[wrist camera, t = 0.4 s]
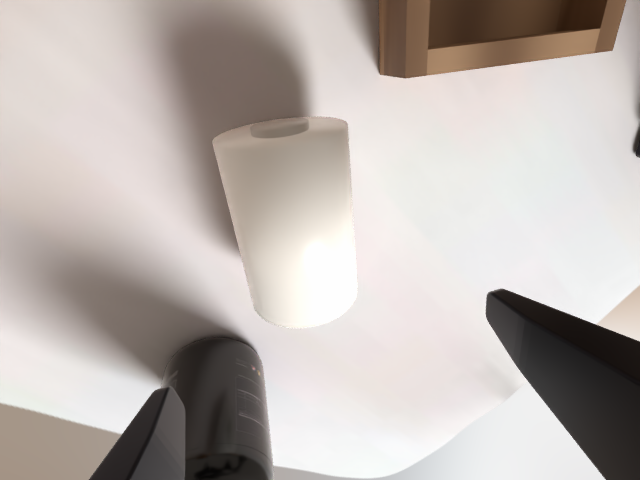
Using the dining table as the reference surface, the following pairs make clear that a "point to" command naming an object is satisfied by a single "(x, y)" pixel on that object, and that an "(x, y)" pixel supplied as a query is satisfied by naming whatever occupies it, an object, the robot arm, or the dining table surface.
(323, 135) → the paper roll
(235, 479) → the supplement bottle
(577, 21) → the walnut cradle
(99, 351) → the dining table surface
